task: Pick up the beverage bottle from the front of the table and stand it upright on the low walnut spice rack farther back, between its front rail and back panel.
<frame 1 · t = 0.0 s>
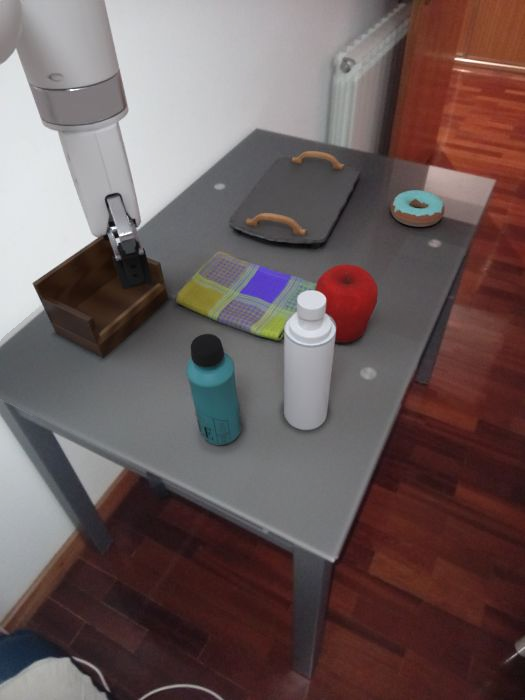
hand: (127, 259, 55), 30 cm above the table, tool pointing down, fingers open, 9 cm apart
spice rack: (114, 316, 93), on the table
serving tray: (298, 205, 119), on the table
dish towel: (246, 299, 96), on the table
donut: (415, 216, 114), on the table
apple: (341, 332, 89), on the table
spray bottle: (305, 413, 77), on the table
beverage bottle: (221, 434, 75), on the table
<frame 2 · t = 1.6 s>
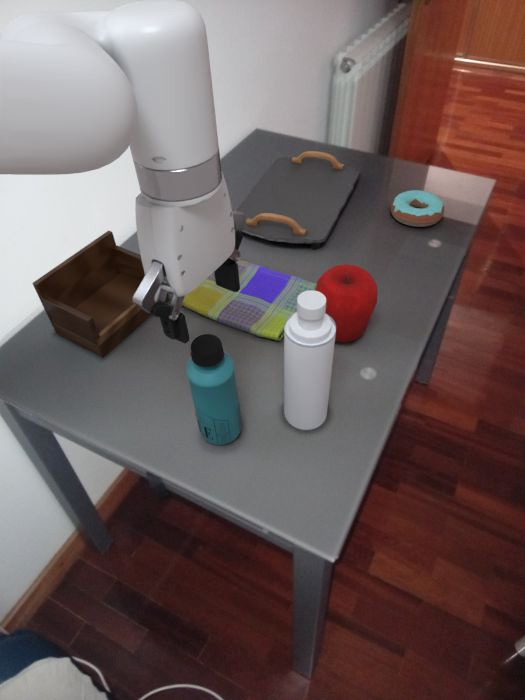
hand: (203, 311, 56), 25 cm above the table, tool pointing down, fingers open, 9 cm apart
nothing on the table moved.
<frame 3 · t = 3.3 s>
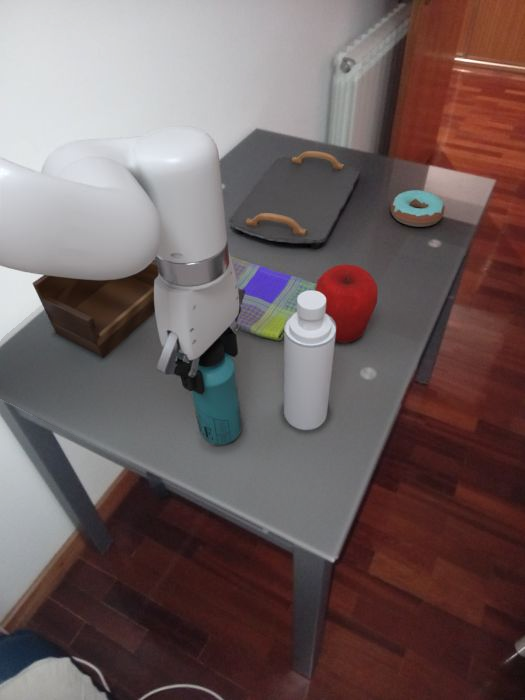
hand: (210, 369, 63), 15 cm above the table, tool pointing down, fingers closed on beverage bottle, 6 cm apart
beverage bottle: (221, 434, 75), on the table, touching gripper
everything else where it was.
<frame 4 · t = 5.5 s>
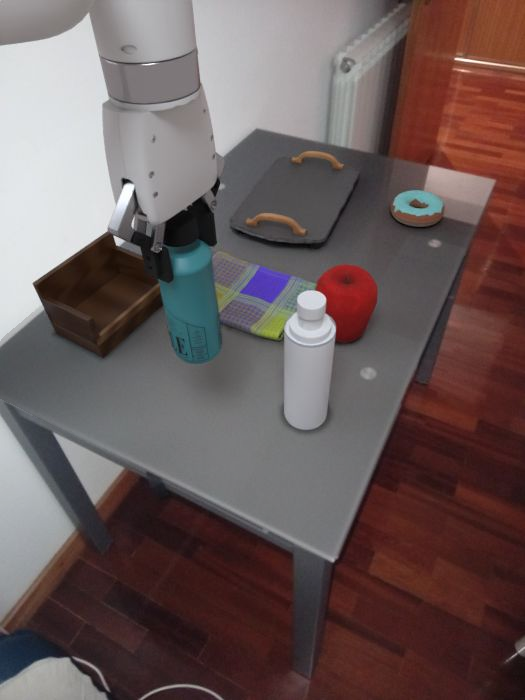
hand: (182, 257, 52), 32 cm above the table, tool pointing down, fingers closed on beverage bottle, 6 cm apart
beverage bottle: (199, 355, 63), point 17 cm above the table, touching gripper
everything else where it was.
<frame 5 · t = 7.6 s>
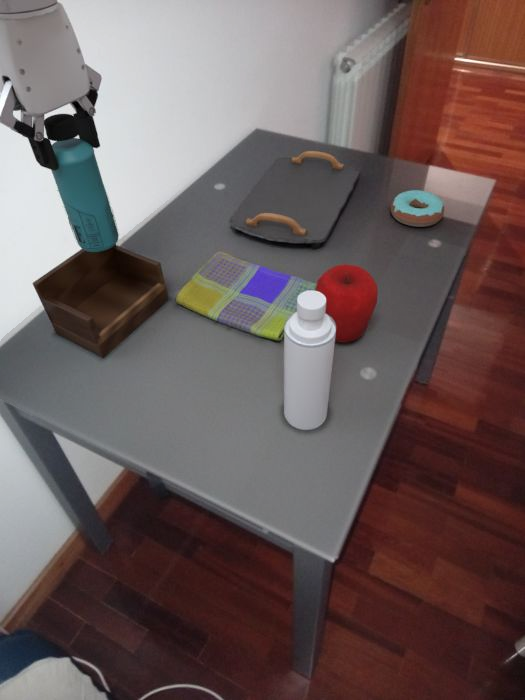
hand: (70, 155, 66), 34 cm above the table, tool pointing down, fingers closed on beverage bottle, 6 cm apart
beverage bottle: (101, 250, 77), point 18 cm above the table, touching gripper
everything else where it was.
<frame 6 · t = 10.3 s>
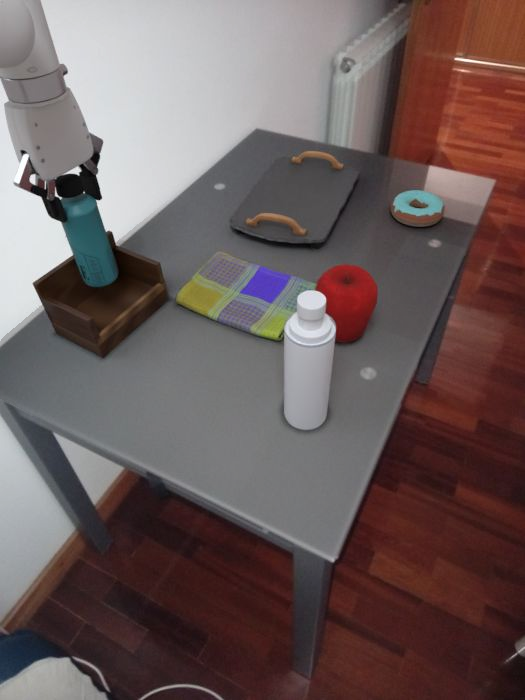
hand: (77, 207, 77), 23 cm above the table, tool pointing down, fingers closed on beverage bottle, 6 cm apart
beverage bottle: (103, 284, 88), point 8 cm above the table, touching gripper
everything else where it was.
when the fingers open (18 cm above the table, at t = 12.1 s): beverage bottle stays where it is, resting on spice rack.
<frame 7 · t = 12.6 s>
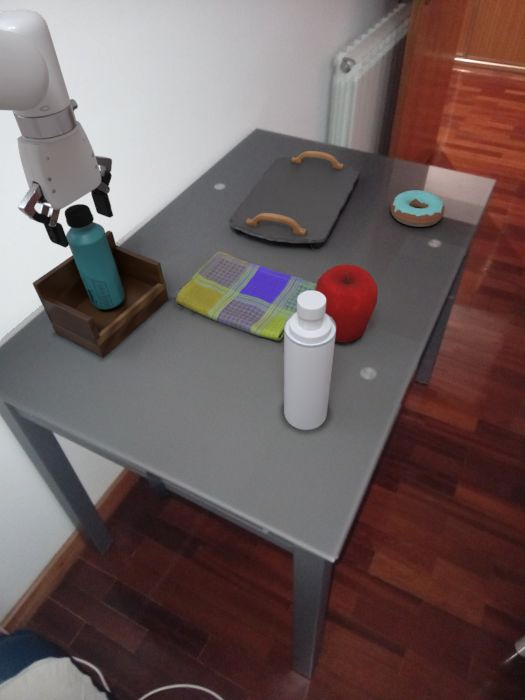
hand: (84, 229, 79), 19 cm above the table, tool pointing down, fingers open, 9 cm apart
beverage bottle: (110, 305, 91), point 3 cm above the table, touching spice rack
everything else where it was.
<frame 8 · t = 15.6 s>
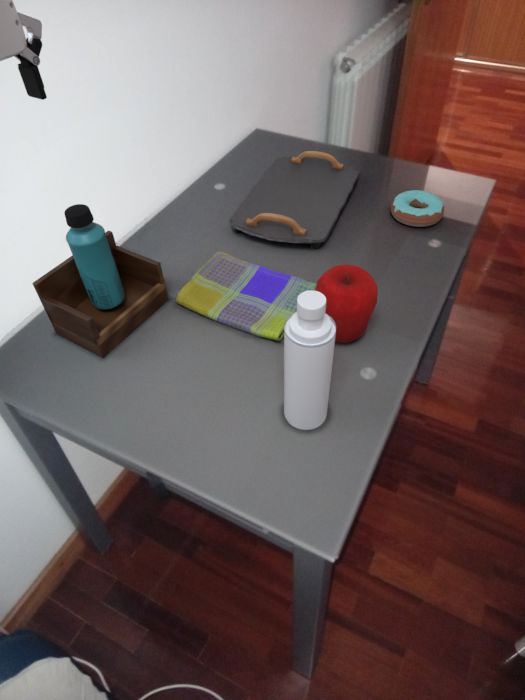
hand: (8, 109, 65), 38 cm above the table, tool pointing down, fingers open, 9 cm apart
nothing on the table moved.
at the end: beverage bottle inside the target area on the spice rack (0.1 cm from its centre), point 2.8 cm above the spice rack's base; beverage bottle tilted 0° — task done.
